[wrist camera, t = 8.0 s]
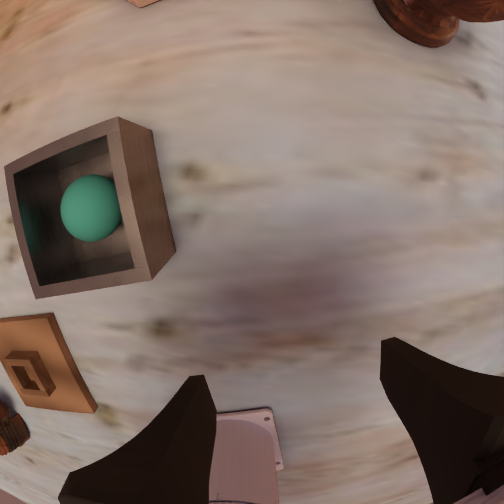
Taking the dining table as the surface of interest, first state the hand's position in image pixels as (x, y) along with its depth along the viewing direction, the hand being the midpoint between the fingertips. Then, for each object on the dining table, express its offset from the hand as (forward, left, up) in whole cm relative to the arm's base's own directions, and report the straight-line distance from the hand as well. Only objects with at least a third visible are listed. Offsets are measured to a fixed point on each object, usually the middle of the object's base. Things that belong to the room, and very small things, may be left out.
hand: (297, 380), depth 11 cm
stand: (-4, +23, -9) cm, 25 cm away
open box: (+8, +10, -9) cm, 16 cm away
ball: (+8, +10, -7) cm, 14 cm away
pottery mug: (-12, +36, -10) cm, 39 cm away
